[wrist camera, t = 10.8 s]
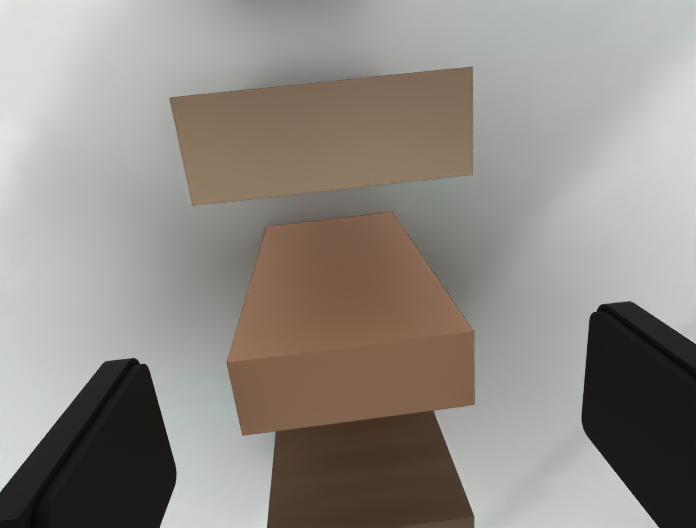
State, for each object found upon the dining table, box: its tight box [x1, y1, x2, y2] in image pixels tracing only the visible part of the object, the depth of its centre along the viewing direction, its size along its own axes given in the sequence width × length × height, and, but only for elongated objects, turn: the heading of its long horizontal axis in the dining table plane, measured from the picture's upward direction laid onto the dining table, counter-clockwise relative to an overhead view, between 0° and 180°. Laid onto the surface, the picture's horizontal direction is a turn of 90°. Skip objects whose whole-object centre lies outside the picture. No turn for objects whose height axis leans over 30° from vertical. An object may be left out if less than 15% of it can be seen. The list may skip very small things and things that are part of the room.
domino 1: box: [170, 67, 473, 206], centre depth 13 cm, size 2×5×10 cm, turn 95°
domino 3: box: [267, 410, 474, 528], centre depth 16 cm, size 2×5×10 cm, turn 96°
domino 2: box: [227, 212, 475, 436], centre depth 15 cm, size 2×5×10 cm, turn 95°
